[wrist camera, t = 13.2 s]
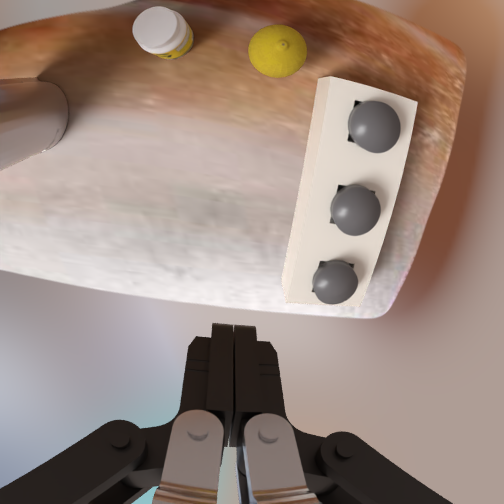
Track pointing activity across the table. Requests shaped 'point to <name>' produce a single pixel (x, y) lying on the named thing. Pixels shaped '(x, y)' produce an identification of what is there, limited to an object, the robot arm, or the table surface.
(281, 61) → the lemon
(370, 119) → the knob
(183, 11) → the table surface
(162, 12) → the supplement bottle
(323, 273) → the knob
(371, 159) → the knob panel
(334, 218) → the knob middle
